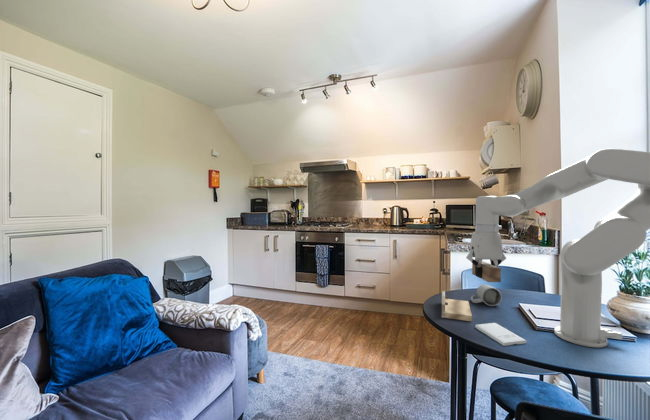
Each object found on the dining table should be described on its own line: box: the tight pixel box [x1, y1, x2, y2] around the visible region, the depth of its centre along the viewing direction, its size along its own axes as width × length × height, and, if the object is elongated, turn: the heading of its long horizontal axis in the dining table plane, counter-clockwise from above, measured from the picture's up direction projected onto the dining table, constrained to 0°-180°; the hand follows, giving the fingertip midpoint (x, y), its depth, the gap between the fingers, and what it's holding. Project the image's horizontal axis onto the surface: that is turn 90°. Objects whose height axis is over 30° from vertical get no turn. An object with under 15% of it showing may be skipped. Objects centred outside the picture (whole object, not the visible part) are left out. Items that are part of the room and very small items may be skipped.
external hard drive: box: [475, 322, 528, 347], centre depth 92 cm, size 2×8×12 cm
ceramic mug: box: [470, 284, 503, 307], centre depth 120 cm, size 11×8×8 cm
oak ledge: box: [441, 290, 473, 322], centre depth 111 cm, size 10×16×5 cm, turn 157°
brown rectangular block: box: [471, 260, 502, 283], centre depth 105 cm, size 4×11×5 cm, turn 0°
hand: (485, 276), depth 105 cm, fingers closed on brown rectangular block, 4 cm apart
